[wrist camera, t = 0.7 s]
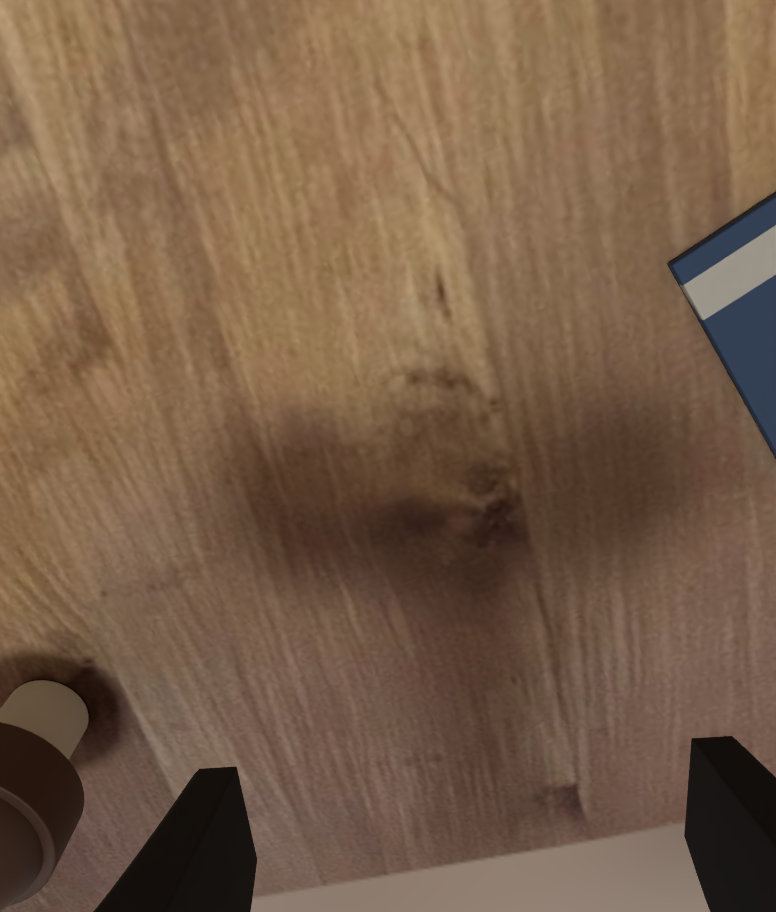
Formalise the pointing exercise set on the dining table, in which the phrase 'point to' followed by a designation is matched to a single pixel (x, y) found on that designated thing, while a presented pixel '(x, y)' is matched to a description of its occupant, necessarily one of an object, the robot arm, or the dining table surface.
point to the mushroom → (37, 784)
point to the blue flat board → (739, 304)
